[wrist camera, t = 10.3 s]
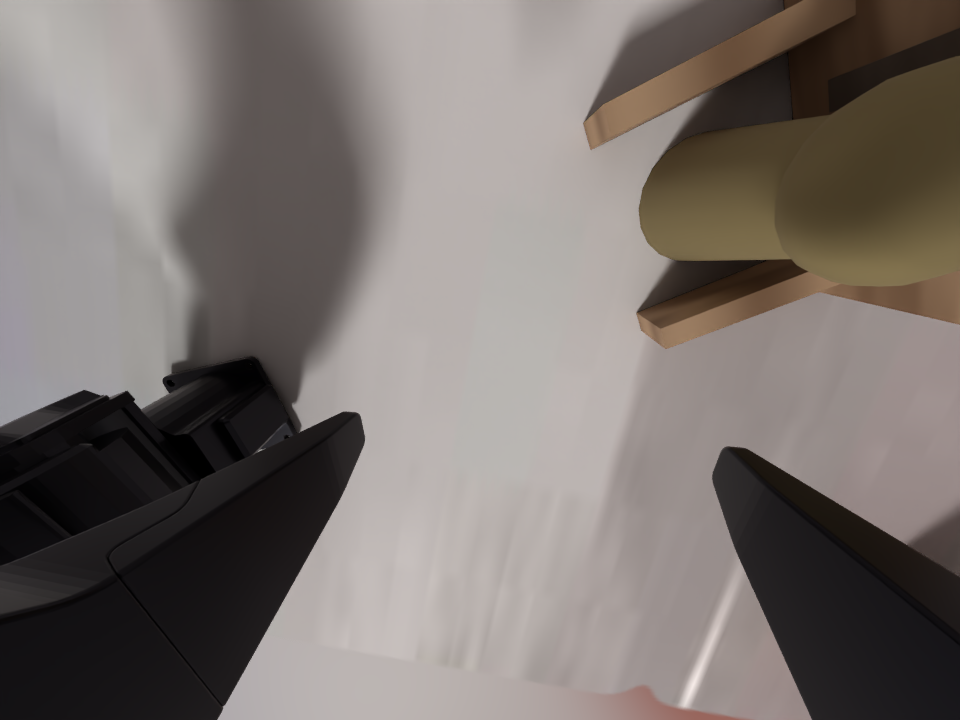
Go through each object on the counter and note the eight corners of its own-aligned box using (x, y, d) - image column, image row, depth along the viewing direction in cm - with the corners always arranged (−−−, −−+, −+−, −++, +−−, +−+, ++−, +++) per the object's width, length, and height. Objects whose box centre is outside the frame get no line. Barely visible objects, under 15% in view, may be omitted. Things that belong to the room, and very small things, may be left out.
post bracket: (646, 349, 21) (753, 439, 12) (574, 93, 16) (672, -44, 7) (845, 274, 19) (1131, 321, 10) (835, -47, 14) (1363, -444, 5)
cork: (724, 99, 16) (1157, -115, 6) (782, 203, 17) (1197, 184, 7) (615, 198, 17) (793, 173, 7) (677, 284, 19) (892, 361, 9)
